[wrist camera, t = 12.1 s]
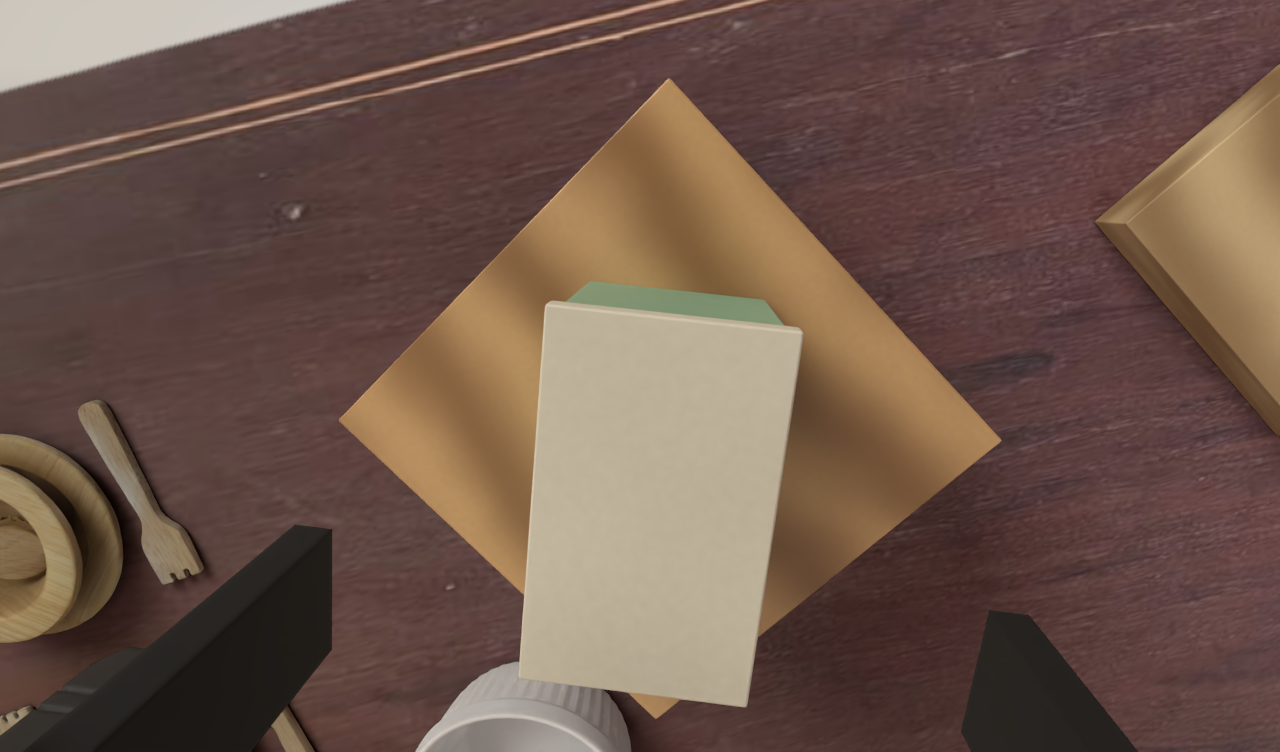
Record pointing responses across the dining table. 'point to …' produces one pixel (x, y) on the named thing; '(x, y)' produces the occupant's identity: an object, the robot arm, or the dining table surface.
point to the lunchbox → (655, 490)
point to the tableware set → (80, 541)
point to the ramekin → (528, 718)
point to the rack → (686, 261)
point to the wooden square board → (1218, 241)
